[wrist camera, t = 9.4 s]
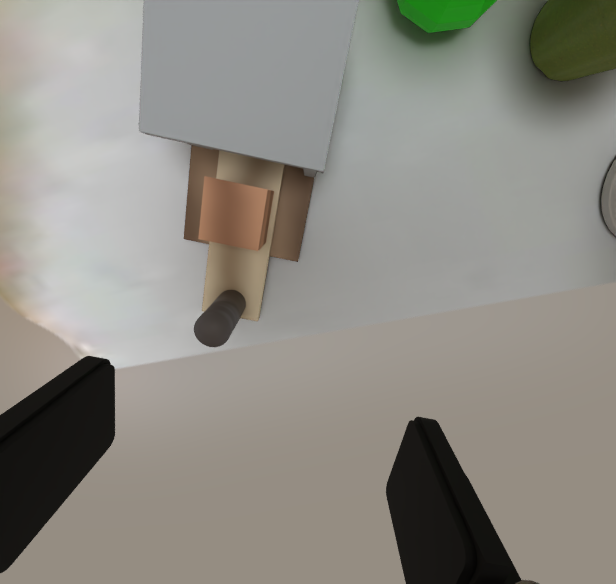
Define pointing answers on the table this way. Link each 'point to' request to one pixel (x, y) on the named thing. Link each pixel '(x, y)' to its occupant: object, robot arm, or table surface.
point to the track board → (288, 212)
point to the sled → (236, 242)
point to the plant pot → (574, 38)
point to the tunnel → (246, 75)
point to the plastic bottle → (443, 13)
